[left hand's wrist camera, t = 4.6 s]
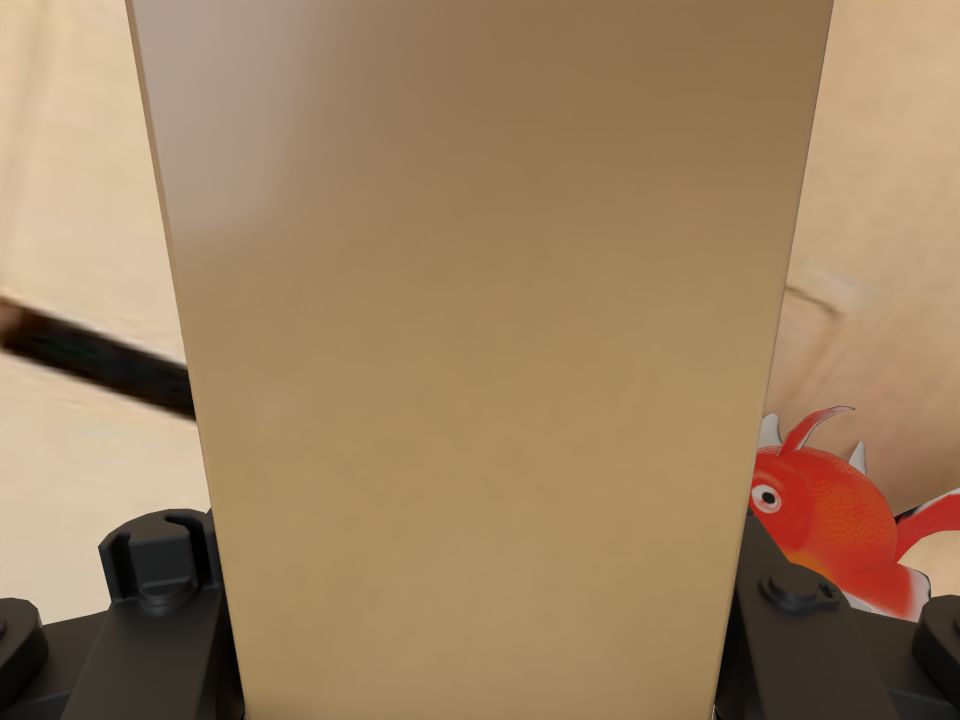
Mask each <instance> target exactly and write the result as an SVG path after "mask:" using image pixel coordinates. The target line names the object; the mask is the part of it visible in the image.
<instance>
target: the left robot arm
mask: <svg viewBox="0 0 960 720" xmlns="http://www.w3.org/2000/svg"><path fill="white" fill-rule="evenodd" d="M98 549H99V553H100V557H101V561H102V565H103V569H104V573H105V577H106V581H107V585H108V589H109V593H110V597H111V601H112V602H111V604H110V607H109V609H108V610H106V611H103V612H99V613H96V614H92V615H88V616H83V617H79V618H74V619H70V620H65V621H60V622H56V623H51V624H47V625H42V622H41V619H40V615H39V612H38V609H37V608H36V607H35V606H34V605H33V604H32V603H30V602H29V601H28V600H22V599H16V598H3V599H0V720H247V714H246V708H245V701H244V695H243V689H242V683H241V677H240V671H239V666H238V660H237V654H236V648H235V642H234V636H233V630H232V625H231V619H230V613H229V607H228V601H227V595H226V589H225V584H224V578H223V572H222V566H221V560H220V554H219V548H218V543H217V537H216V531H215V525H214V519H213V513H212V507H211V508H210V509H209V511H208V512H207V514H205V513H204V512H200V511H196V510H192V509H167V510H163V511H158V512H153V513H149V514H146V515H143V516H141V517H138V518H136V519H133V520H131V521H128V522H126V523H124V524H123V525H121V526H120V527H118V528H117V529H115V530H114V531H112V532H111V533H109V534H108V535H107V536H106V538H105V539H104V540H103V541H102V542H101V543H100V545H99V546H98ZM714 705H715V708H714V714H713V720H960V596H956V595H945V596H938V597H932V598H931V599H930V600H929V601H928V602H927V603H925V604H924V605H923V607H922V610H921V613H920V617H919V620H918V623H917V622H912V621H908V620H903V619H898V618H894V617H889V616H885V615H880V614H875V613H871V612H867V611H863V610H860V609H856V608H853V607H851V606H850V603H849V601H848V600H847V598H846V597H845V596H844V594H843V593H842V591H841V590H840V589H839V587H838V586H836V585H835V584H834V583H832V582H831V581H830V580H828V579H827V578H826V577H824V576H823V575H822V574H819V573H817V572H815V571H813V570H811V569H809V568H806V567H804V566H802V565H798V564H794V563H790V562H789V561H788V559H787V558H786V556H785V555H784V553H783V552H782V551H781V549H780V548H779V546H778V545H777V544H776V542H775V541H774V539H773V538H772V537H771V535H770V534H769V532H768V531H767V530H766V528H765V527H764V525H763V524H762V523H761V521H760V520H759V518H758V517H757V516H754V511H753V510H752V509H751V507H750V506H749V504H748V507H747V513H746V519H745V525H744V531H743V537H742V543H741V548H740V554H739V560H738V566H737V572H736V578H735V584H734V589H733V595H732V601H731V607H730V613H729V619H728V625H727V631H726V636H725V642H724V648H723V654H722V660H721V666H720V672H719V678H718V683H717V689H716V695H715V701H714Z"/></svg>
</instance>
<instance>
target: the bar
mask: <svg viewBox="0 0 960 720" xmlns="http://www.w3.org/2000/svg"><path fill="white" fill-rule="evenodd" d="M833 2H834V0H125V4H126V9H127V15H128V21H129V27H130V33H131V39H132V45H133V50H134V56H135V62H136V68H137V74H138V80H139V86H140V91H141V97H142V103H143V109H144V115H145V121H146V127H147V132H148V138H149V144H150V150H151V156H152V162H153V168H154V173H155V179H156V185H157V191H158V197H159V203H160V209H161V214H162V220H163V226H164V232H165V238H166V244H167V250H168V255H169V261H170V267H171V273H172V279H173V285H174V291H175V296H176V302H177V308H178V314H179V320H180V326H181V332H182V337H183V343H184V349H185V355H186V361H187V367H188V373H189V379H190V384H191V390H192V396H193V402H194V408H195V414H196V420H197V425H198V431H199V437H200V443H201V449H202V455H203V461H204V466H205V472H206V478H207V484H208V490H209V496H210V502H211V507H212V513H213V519H214V525H215V531H216V537H217V543H218V548H219V554H220V560H221V566H222V572H223V578H224V584H225V589H226V595H227V601H228V607H229V613H230V619H231V625H232V630H233V636H234V642H235V648H236V654H237V660H238V666H239V671H240V677H241V683H242V689H243V695H244V701H245V707H246V712H247V718H248V720H711V719H712V713H713V707H714V701H715V695H716V689H717V683H718V678H719V672H720V666H721V660H722V654H723V648H724V642H725V636H726V631H727V625H728V619H729V613H730V607H731V601H732V595H733V589H734V584H735V578H736V572H737V566H738V560H739V554H740V548H741V543H742V537H743V531H744V525H745V519H746V513H747V507H748V501H749V496H750V490H751V484H752V478H753V472H754V466H755V460H756V454H757V449H758V443H759V437H760V431H761V425H762V419H763V413H764V408H765V402H766V396H767V390H768V384H769V378H770V372H771V366H772V361H773V355H774V349H775V343H776V337H777V331H778V325H779V319H780V314H781V308H782V302H783V296H784V290H785V284H786V278H787V272H788V267H789V261H790V255H791V249H792V243H793V237H794V231H795V226H796V220H797V214H798V208H799V202H800V196H801V190H802V184H803V179H804V173H805V167H806V161H807V155H808V149H809V143H810V137H811V132H812V126H813V120H814V114H815V108H816V102H817V96H818V90H819V85H820V79H821V73H822V67H823V61H824V55H825V49H826V44H827V38H828V32H829V26H830V20H831V14H832V8H833Z"/></svg>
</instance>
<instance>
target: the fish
mask: <svg viewBox="0 0 960 720" xmlns="http://www.w3.org/2000/svg"><path fill="white" fill-rule="evenodd" d="M849 409H854V408H852V407H846V406H837V407H833V408H830V409H826V410H822V411H818V412H815V413H813V414H811V415H809V416H807V417H805V418H804V419H803V421H802V422H800V423H799V424H798V425H797V426H796V427H795V428H794V429H793V430H791V431H790V432H789V433H788V435H787V437H786V438H785V440H784V442H783V443H782V441H781V438H780V434H779V417H778V416H777V415H776V414H774V413H771V414H769V415H767V416H766V417H764V418H763V419H762V425H761V431H760V437H759V443H758V449H757V454H756V460H755V466H754V472H753V478H752V484H751V490H750V496H749V501H748V504H749V506H750V507H751V509H752V510H753V511H754V516H757V517H758V518H759V520H760V521H761V523H762V524H763V525H764V527H765V528H766V530H767V531H768V532H769V534H770V535H771V537H772V538H773V539H774V541H775V542H776V544H777V545H778V546H779V548H780V549H781V551H782V552H783V553H784V555H785V556H786V558H787V559H788V561H789V562H790V563H794V564H798V565H802V566H804V567H806V568H809V569H811V570H813V571H815V572H817V573H819V574H822V575H823V576H824V577H826V578H827V579H828V580H830V581H831V582H832V583H834V584H835V585H836V586H838V587H839V589H840V590H841V591H842V593H843V594H844V596H845V597H846V598H847V600H848V601H849V603H850V606H851V607H853V608H856V609H860V610H863V611H867V612H870V611H871V609H873V610H874V611H876V612H878V613H879V614H881V615H885V616H889V617H894V618H898V619H903V620H908V621H912V622H917V623H918V620H919V617H920V613H921V610H922V607H923V605H924V604H925V603H927V602H928V601H929V600H930V599H931V585H930V581H929V578H928V577H927V576H926V575H925V574H923V573H921V572H919V571H917V570H915V569H912V568H909V567H906V566H904V565H901V564H898V563H897V562H898V561H899V560H900V558H901V557H902V556H903V555H904V554H905V553H906V552H907V551H908V550H909V549H910V547H911V546H913V545H914V544H915V543H916V542H917V541H919V540H920V539H921V538H923V537H925V536H928V535H931V534H933V533H936V532H940V531H949V530H960V487H959V488H957V489H955V490H953V491H951V492H948V493H946V494H944V495H942V496H940V497H937V498H935V499H933V500H931V501H928V502H926V503H924V504H922V505H920V506H917V507H915V508H913V509H911V510H909V511H906V512H904V513H902V514H900V515H897V516H895V517H893V515H892V513H891V510H890V508H889V506H888V504H887V502H886V500H885V498H884V496H883V495H882V494H881V493H880V492H879V490H878V489H877V488H876V487H875V485H874V484H873V483H872V482H871V481H870V480H869V479H868V478H867V473H866V463H865V447H864V443H863V442H862V441H860V442H859V444H858V446H857V448H856V449H855V451H854V453H853V454H852V456H851V458H850V460H849V463H847V462H845V461H843V460H842V459H840V458H838V457H837V456H835V455H833V454H830V453H827V452H824V451H820V450H817V449H813V448H809V447H805V446H803V445H804V443H805V442H806V441H807V439H808V437H809V435H810V433H811V432H812V430H813V429H814V427H815V426H816V425H818V424H819V423H820V422H822V421H824V420H826V419H827V418H829V417H831V416H833V415H835V414H837V413H839V412H841V411H843V410H849ZM854 410H855V409H854Z"/></svg>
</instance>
